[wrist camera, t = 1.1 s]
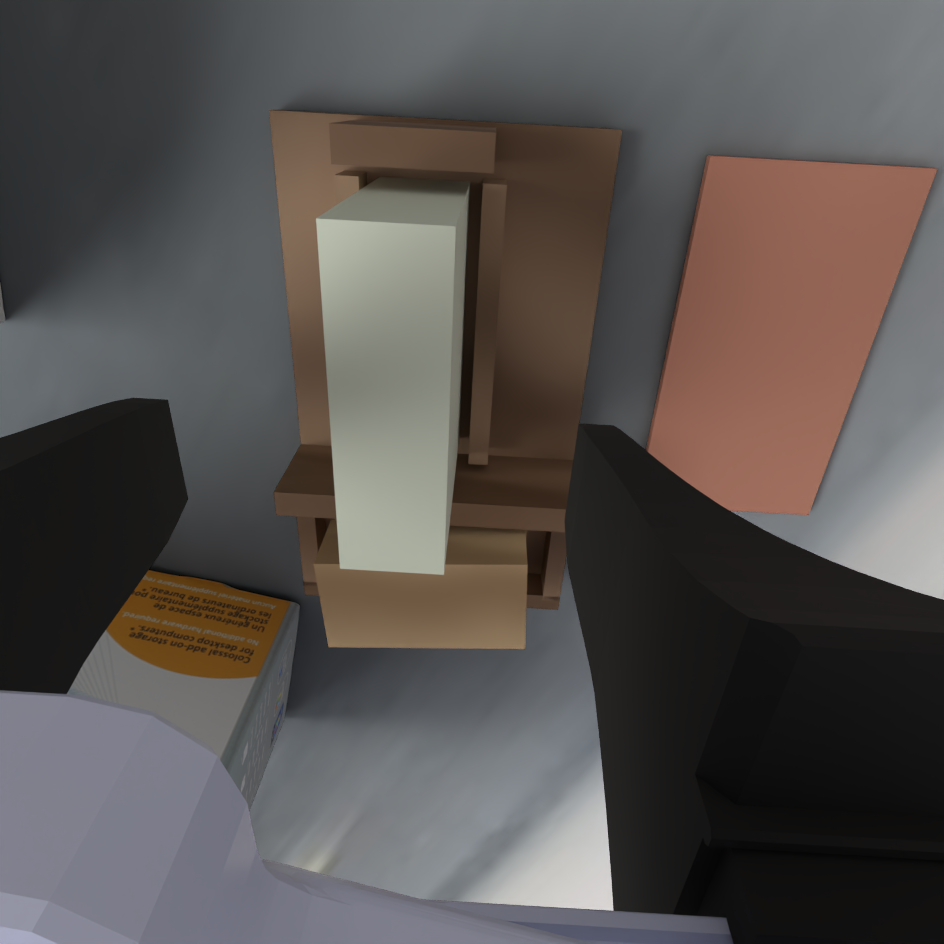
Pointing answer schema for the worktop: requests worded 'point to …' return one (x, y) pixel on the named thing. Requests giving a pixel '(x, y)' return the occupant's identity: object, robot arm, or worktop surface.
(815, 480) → the mat
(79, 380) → the worktop surface
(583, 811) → the worktop surface
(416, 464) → the panel
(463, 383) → the rack
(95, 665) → the hard drive box
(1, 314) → the supplement box
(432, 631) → the offcut upper
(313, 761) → the worktop surface
